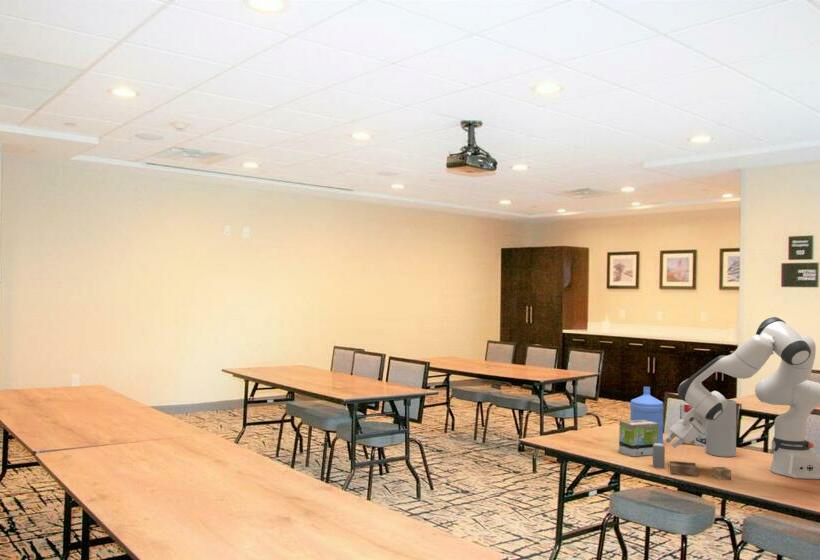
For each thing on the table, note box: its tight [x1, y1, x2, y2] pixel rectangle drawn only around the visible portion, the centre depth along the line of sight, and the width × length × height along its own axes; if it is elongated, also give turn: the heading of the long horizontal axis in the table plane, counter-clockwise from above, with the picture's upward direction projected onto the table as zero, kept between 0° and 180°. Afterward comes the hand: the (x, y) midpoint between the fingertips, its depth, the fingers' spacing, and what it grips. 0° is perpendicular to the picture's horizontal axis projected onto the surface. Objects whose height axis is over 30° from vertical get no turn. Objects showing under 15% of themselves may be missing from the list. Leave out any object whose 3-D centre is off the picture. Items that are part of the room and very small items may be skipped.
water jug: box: [629, 386, 664, 445], centre depth 324 cm, size 16×16×28 cm
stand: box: [669, 460, 699, 478], centre depth 269 cm, size 10×8×4 cm
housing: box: [652, 443, 666, 469], centre depth 279 cm, size 4×4×10 cm
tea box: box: [618, 420, 659, 457], centre depth 302 cm, size 15×10×15 cm
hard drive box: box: [679, 401, 706, 448], centre depth 324 cm, size 16×8×20 cm, turn 62°
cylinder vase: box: [705, 398, 737, 458], centre depth 303 cm, size 12×12×25 cm
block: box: [712, 466, 732, 481], centre depth 262 cm, size 5×5×4 cm
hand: (669, 444), depth 277 cm, fingers open, 8 cm apart
